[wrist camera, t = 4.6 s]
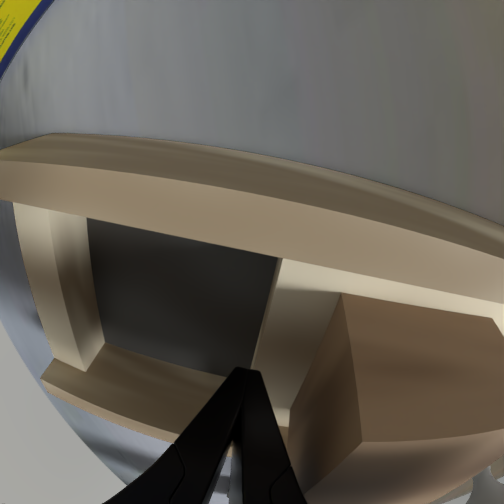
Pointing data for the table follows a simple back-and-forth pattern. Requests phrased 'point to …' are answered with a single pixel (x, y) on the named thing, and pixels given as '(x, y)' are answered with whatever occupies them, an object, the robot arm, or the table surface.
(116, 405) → the channel
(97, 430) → the table surface
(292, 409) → the walnut block
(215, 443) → the robot arm
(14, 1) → the supplement box
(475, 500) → the chalice
